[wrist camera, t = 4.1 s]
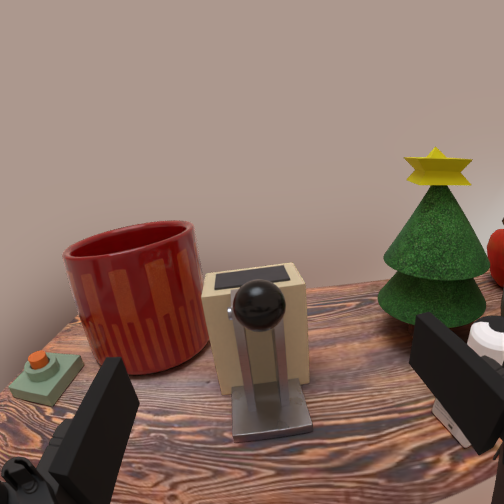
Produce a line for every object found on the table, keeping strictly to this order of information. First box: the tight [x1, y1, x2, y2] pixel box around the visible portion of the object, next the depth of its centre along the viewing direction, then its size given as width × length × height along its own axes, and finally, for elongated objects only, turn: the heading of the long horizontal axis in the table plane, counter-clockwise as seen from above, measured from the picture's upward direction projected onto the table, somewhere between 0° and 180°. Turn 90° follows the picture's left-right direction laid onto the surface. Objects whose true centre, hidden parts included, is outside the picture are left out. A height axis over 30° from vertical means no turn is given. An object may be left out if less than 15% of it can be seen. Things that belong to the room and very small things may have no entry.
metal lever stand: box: [227, 284, 313, 443], centre depth 35 cm, size 12×9×16 cm
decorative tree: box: [378, 147, 490, 337], centre depth 42 cm, size 19×19×30 cm
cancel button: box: [28, 351, 49, 370], centre depth 41 cm, size 4×4×2 cm
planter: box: [62, 220, 210, 375], centre depth 52 cm, size 23×23×20 cm
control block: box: [9, 352, 84, 406], centre depth 42 cm, size 12×10×4 cm
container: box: [432, 316, 504, 448], centre depth 25 cm, size 8×8×13 cm
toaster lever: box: [233, 279, 286, 332], centre depth 27 cm, size 15×4×4 cm, turn 4°
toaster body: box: [201, 263, 309, 395], centre depth 42 cm, size 8×12×15 cm, turn 94°
